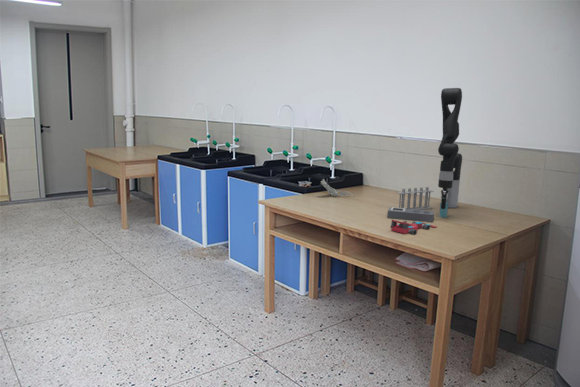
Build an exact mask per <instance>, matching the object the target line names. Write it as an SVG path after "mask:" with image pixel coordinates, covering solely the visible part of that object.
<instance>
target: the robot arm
mask: <svg viewBox="0 0 580 387" xmlns="http://www.w3.org/2000/svg"><path fill="white" fill-rule="evenodd" d="M462 99H463V91H462V88H460V87H451V88H450V87H448V88H442V90H441V93H440V100H441V102H440V104H441V111H442V112H441V113H442V138H441V142H440V143H439V146H438V149H437V150H438V154H439V155H440V156H442V160H441V161H440V166H439V174H438V184H437V186H438V188H439V189H441V188H442V190H441V191H440V203H441V202H442V203H441V209H445V206H446V202H448V209H456V208H458V202H459V194H460V192H459V191H460V182H461V173H462V172H461V169H462V164H463V155H462V153H459V144H457V143H455V142H456V140H457V139H458V138H459V135H460V124H459V122H458V121H459V116H460V111H461V106H462V101H463V100H462ZM450 105H451V106H452V105H453V106H454V107H453V110H452V111H451V110H450V107H449V106H450Z"/></svg>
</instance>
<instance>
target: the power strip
mask: <svg viewBox="0 0 580 387" xmlns="http://www.w3.org/2000/svg"><path fill="white" fill-rule="evenodd" d="M405 208H406V207H404V208H401V207H400V208H399V207H395V206H394V207H392V206H390V207H389V208H388V209H387V213H386V215H387V219H393V220H405V221H415V222H426V223H433V222H434V221H433V220H434V215H435V213H434V212H435V211H434V210H428V209H424V210H416V209H405Z"/></svg>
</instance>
